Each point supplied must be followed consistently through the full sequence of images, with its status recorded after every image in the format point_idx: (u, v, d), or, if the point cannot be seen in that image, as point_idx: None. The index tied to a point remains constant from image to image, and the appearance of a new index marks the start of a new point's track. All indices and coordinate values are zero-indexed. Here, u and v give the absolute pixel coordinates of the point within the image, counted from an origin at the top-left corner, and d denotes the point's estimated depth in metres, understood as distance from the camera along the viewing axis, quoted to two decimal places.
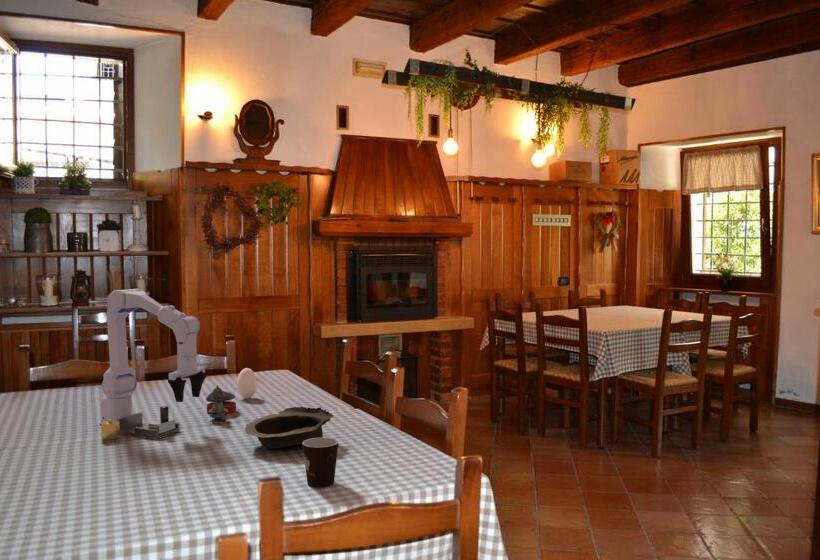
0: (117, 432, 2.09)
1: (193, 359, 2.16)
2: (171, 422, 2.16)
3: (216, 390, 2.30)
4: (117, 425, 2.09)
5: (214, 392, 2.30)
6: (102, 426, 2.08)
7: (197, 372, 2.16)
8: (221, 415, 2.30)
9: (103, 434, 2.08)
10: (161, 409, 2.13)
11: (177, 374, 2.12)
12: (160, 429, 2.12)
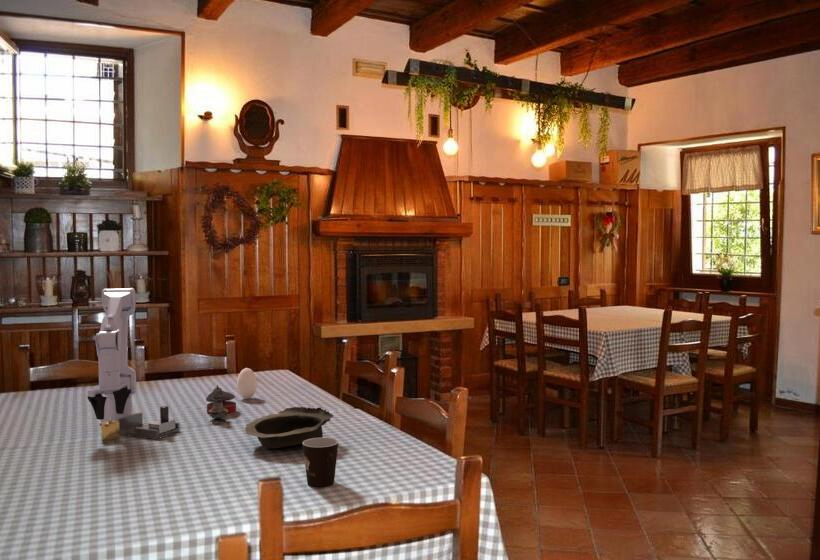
0: (117, 432, 2.09)
1: (115, 375, 2.08)
2: (171, 422, 2.16)
3: (216, 390, 2.30)
4: (117, 425, 2.09)
5: (214, 392, 2.30)
6: (102, 426, 2.08)
7: (119, 388, 2.08)
8: (221, 415, 2.30)
9: (103, 434, 2.08)
10: (161, 409, 2.13)
11: (97, 390, 2.03)
12: (160, 429, 2.12)
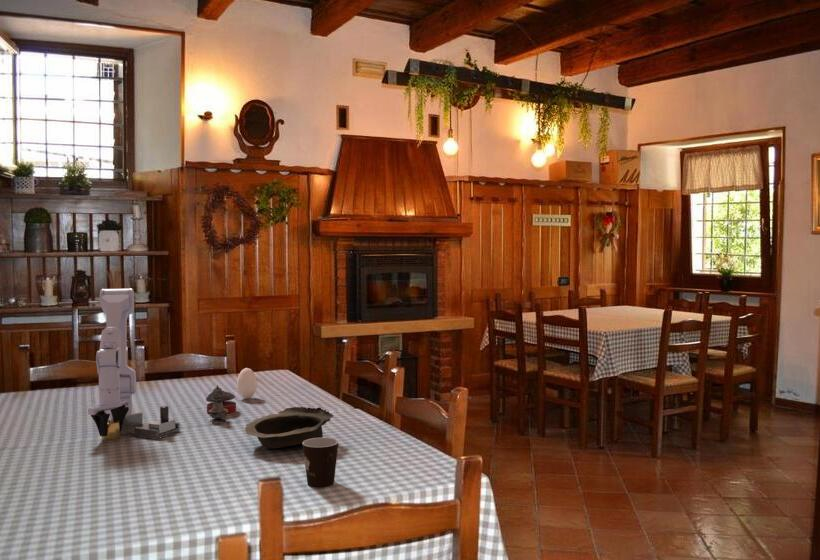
0: (117, 432, 2.09)
1: (115, 392, 2.08)
2: (171, 422, 2.16)
3: (216, 390, 2.30)
4: (117, 425, 2.09)
5: (214, 392, 2.30)
6: None
7: (119, 406, 2.08)
8: (221, 415, 2.30)
9: None
10: (161, 409, 2.13)
11: (97, 408, 2.04)
12: (160, 429, 2.12)
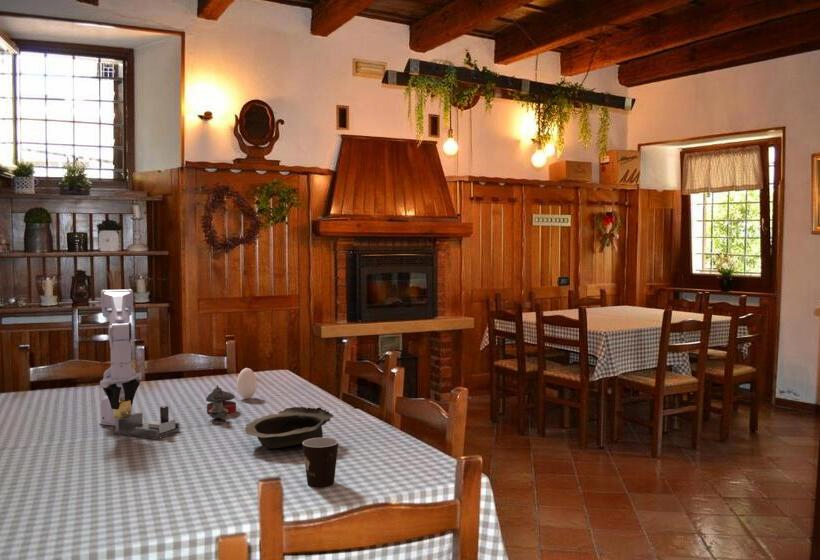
0: (128, 410, 2.13)
1: (127, 366, 2.11)
2: (171, 422, 2.16)
3: (216, 390, 2.30)
4: (128, 403, 2.13)
5: (214, 392, 2.30)
6: None
7: (131, 379, 2.11)
8: (221, 415, 2.30)
9: (115, 411, 2.11)
10: (161, 409, 2.13)
11: (109, 382, 2.07)
12: (160, 429, 2.12)
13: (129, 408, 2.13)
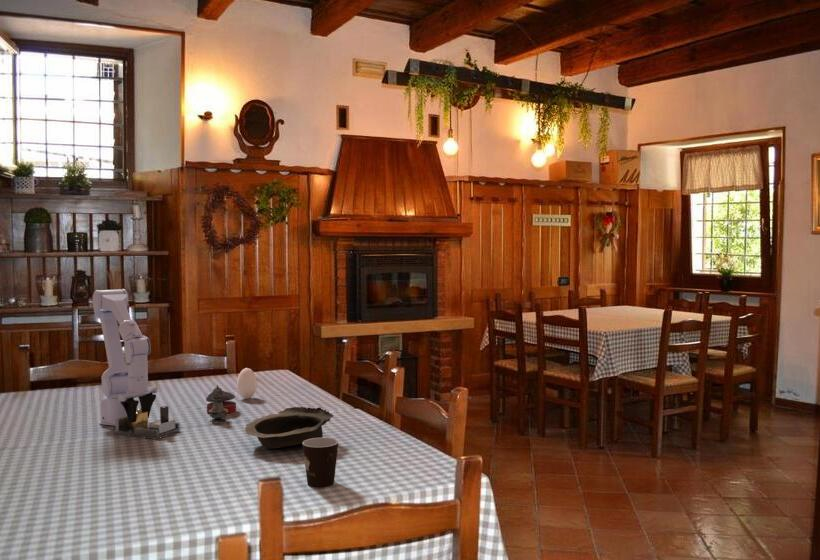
0: (146, 421, 2.18)
1: (144, 380, 2.16)
2: (171, 422, 2.16)
3: (216, 390, 2.30)
4: (146, 415, 2.18)
5: (214, 392, 2.30)
6: None
7: (148, 393, 2.16)
8: (221, 415, 2.30)
9: (132, 423, 2.16)
10: (161, 409, 2.13)
11: (127, 395, 2.12)
12: (160, 429, 2.12)
13: (146, 420, 2.18)
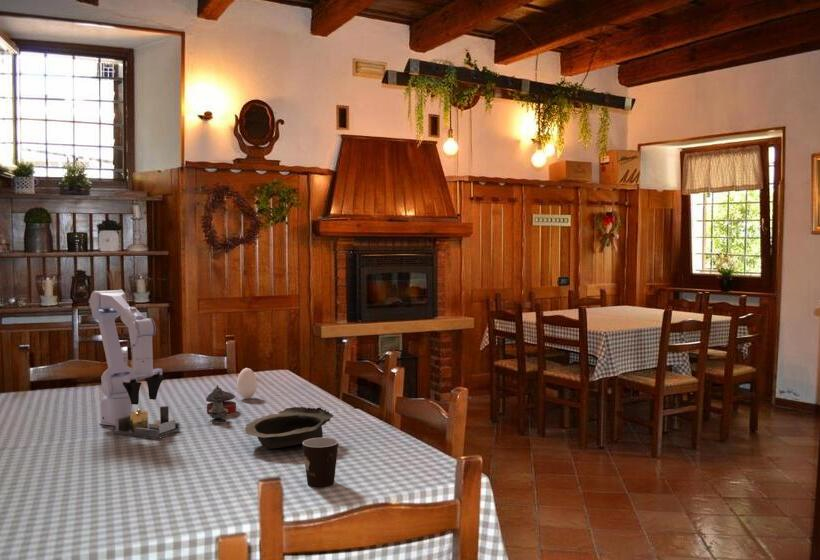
0: (146, 421, 2.18)
1: (149, 361, 2.15)
2: (171, 422, 2.16)
3: (216, 390, 2.30)
4: (146, 415, 2.18)
5: (214, 392, 2.30)
6: (131, 415, 2.16)
7: (153, 374, 2.15)
8: (221, 415, 2.30)
9: (132, 423, 2.16)
10: (161, 409, 2.13)
11: (132, 376, 2.11)
12: (160, 429, 2.12)
13: (146, 420, 2.18)
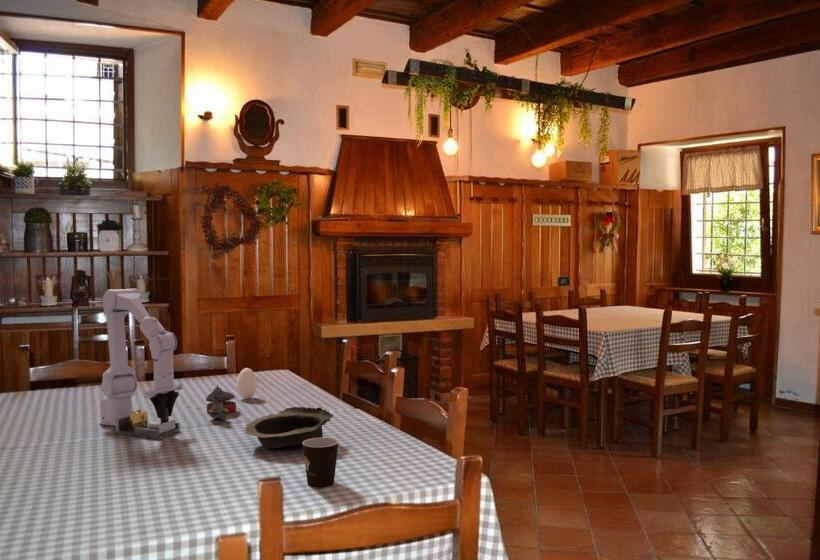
0: (146, 421, 2.18)
1: (170, 376, 2.13)
2: (171, 422, 2.16)
3: (216, 390, 2.30)
4: (145, 414, 2.18)
5: (214, 392, 2.30)
6: (131, 415, 2.16)
7: (174, 390, 2.13)
8: (221, 415, 2.30)
9: (132, 423, 2.16)
10: None
11: (153, 392, 2.08)
12: (160, 429, 2.12)
13: (146, 419, 2.18)
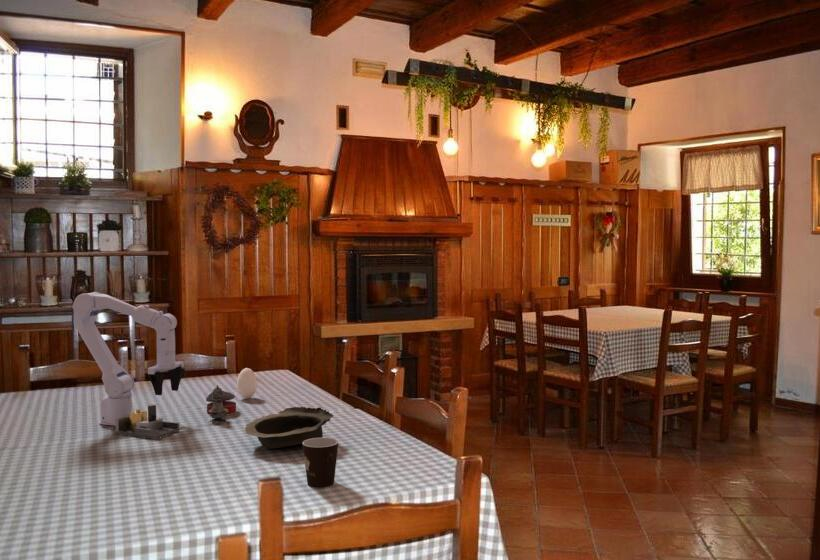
0: None
1: (172, 354, 2.27)
2: (159, 421, 2.18)
3: (216, 390, 2.30)
4: (145, 414, 2.18)
5: (214, 392, 2.30)
6: (131, 415, 2.17)
7: (175, 367, 2.27)
8: (221, 415, 2.30)
9: (132, 423, 2.16)
10: (149, 408, 2.15)
11: (156, 368, 2.23)
12: (148, 428, 2.13)
13: None
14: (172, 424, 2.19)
